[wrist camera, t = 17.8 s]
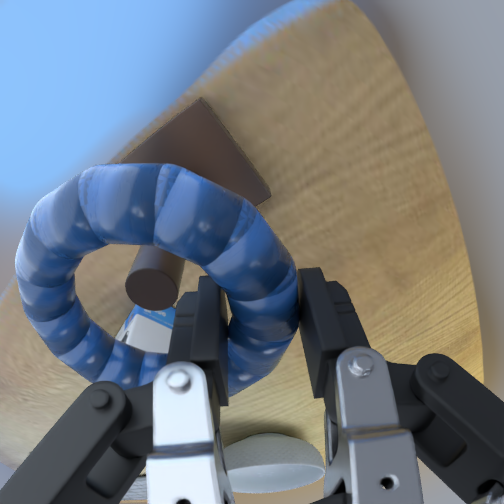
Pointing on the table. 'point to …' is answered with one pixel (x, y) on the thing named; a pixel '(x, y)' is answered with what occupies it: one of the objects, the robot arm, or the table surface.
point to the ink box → (148, 329)
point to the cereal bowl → (272, 463)
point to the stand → (202, 163)
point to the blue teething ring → (169, 239)
